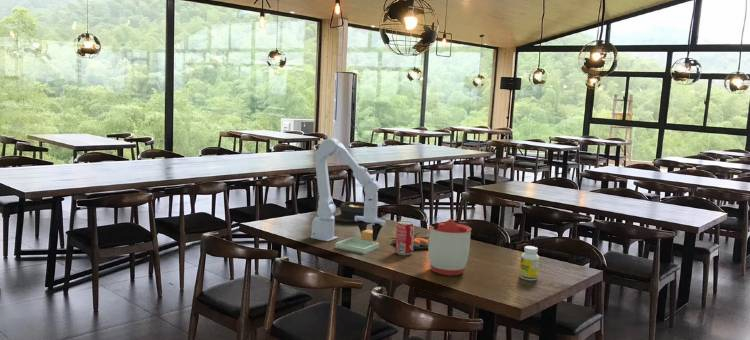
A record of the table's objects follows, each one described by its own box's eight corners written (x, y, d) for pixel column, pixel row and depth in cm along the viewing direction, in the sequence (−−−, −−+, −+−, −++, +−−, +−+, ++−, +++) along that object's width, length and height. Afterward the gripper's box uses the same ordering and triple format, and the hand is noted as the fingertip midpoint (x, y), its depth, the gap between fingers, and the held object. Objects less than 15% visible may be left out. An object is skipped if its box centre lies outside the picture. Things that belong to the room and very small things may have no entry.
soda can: (412, 256, 242) (414, 225, 240) (394, 255, 243) (396, 223, 241) (413, 251, 249) (415, 221, 247) (396, 250, 250) (397, 219, 248)
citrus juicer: (437, 261, 236) (440, 211, 234) (476, 272, 226) (480, 219, 223) (414, 269, 224) (417, 217, 222) (453, 280, 214) (457, 225, 211)
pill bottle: (516, 275, 224) (519, 244, 223) (533, 275, 225) (536, 245, 223) (522, 280, 218) (525, 249, 216) (539, 281, 218) (542, 250, 217)
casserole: (348, 227, 286) (348, 210, 285) (324, 219, 299) (325, 203, 298) (386, 221, 302) (387, 205, 301) (362, 214, 316) (363, 199, 315)
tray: (335, 248, 248) (335, 242, 248) (351, 242, 259) (351, 237, 258) (364, 254, 241) (364, 248, 241) (379, 248, 252) (379, 243, 251)
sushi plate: (402, 253, 248) (403, 244, 248) (377, 235, 276) (377, 227, 275) (464, 249, 258) (465, 241, 258) (434, 232, 286) (434, 225, 286)
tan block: (361, 242, 259) (361, 231, 258) (367, 240, 263) (367, 229, 263) (370, 244, 257) (371, 233, 256) (376, 242, 261) (377, 231, 260)
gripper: (351, 207, 258) (349, 238, 260) (380, 212, 251) (378, 244, 253) (360, 205, 264) (358, 235, 266) (388, 209, 257) (387, 240, 259)
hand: (369, 239), depth 260 cm, fingers closed on tan block, 5 cm apart
